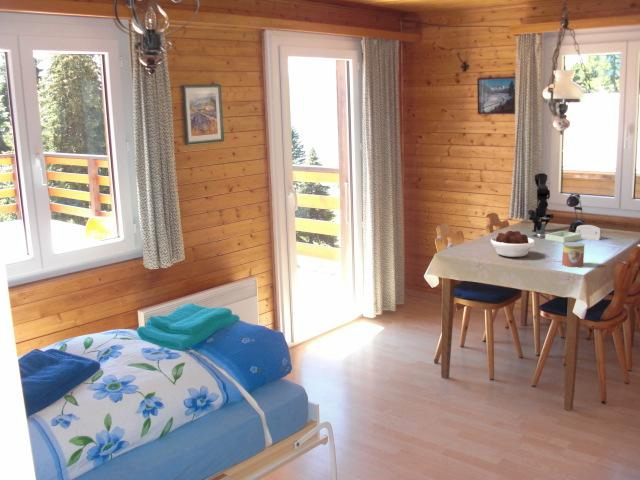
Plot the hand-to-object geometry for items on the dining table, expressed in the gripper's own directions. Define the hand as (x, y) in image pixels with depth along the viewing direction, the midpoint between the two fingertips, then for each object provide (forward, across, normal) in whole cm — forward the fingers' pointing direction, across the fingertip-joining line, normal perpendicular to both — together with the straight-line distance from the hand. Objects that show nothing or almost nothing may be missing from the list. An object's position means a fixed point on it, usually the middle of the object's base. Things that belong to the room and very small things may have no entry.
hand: (540, 229), depth 479 cm
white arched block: (+5, -19, +23) cm, 30 cm away
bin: (+4, -2, +16) cm, 17 cm away
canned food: (+5, +52, +60) cm, 80 cm away
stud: (+4, 0, 0) cm, 4 cm away
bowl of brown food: (+5, +59, +24) cm, 64 cm away
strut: (+2, 0, 0) cm, 2 cm away
